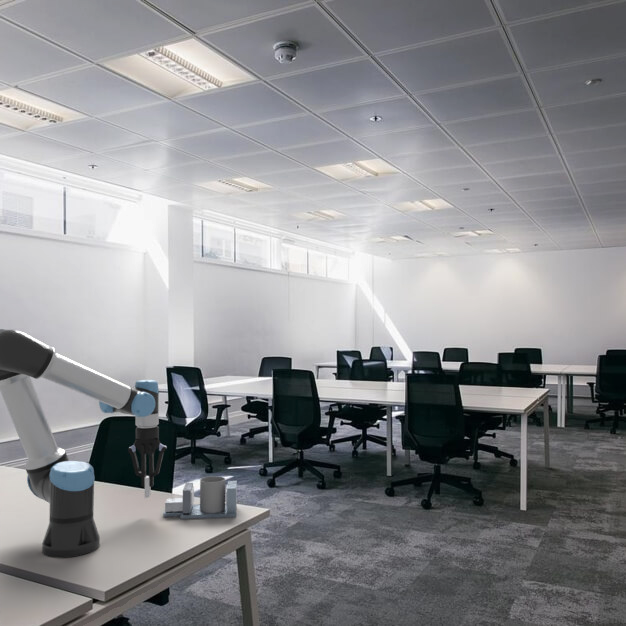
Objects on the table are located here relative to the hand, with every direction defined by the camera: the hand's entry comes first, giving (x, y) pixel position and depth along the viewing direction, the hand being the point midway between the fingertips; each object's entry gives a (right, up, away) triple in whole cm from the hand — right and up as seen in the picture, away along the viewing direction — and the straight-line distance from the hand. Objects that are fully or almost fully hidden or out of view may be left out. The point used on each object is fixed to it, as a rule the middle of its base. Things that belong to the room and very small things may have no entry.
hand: (147, 496), depth 199 cm
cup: (+22, -5, +2) cm, 22 cm away
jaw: (+11, -5, +1) cm, 11 cm away
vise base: (+18, -6, +1) cm, 19 cm away
